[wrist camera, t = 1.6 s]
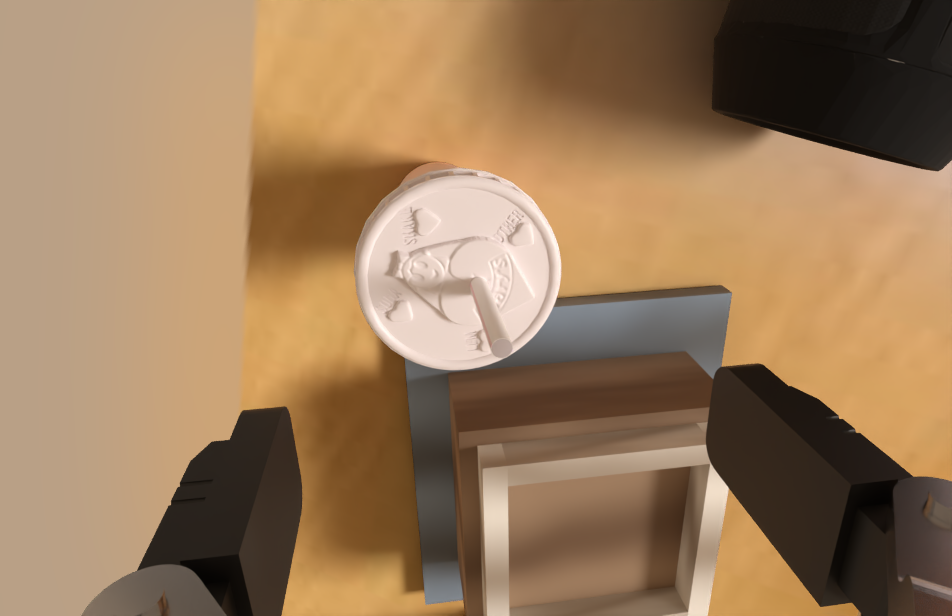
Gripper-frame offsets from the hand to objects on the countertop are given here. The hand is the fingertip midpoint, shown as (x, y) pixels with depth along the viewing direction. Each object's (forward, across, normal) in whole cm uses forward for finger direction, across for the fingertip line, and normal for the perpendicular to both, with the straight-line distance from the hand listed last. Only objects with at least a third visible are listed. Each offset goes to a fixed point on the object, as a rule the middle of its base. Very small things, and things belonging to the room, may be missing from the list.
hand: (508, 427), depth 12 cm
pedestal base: (+18, -6, +14) cm, 23 cm away
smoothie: (+18, 0, 0) cm, 18 cm away
